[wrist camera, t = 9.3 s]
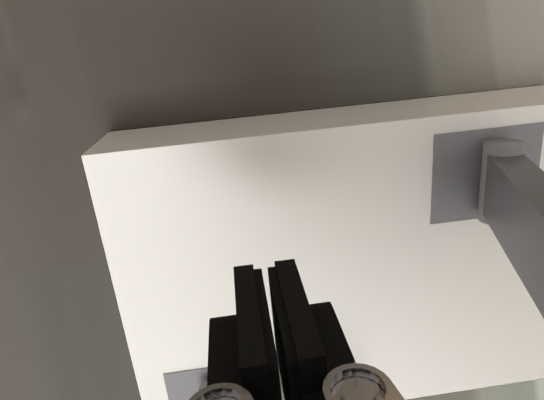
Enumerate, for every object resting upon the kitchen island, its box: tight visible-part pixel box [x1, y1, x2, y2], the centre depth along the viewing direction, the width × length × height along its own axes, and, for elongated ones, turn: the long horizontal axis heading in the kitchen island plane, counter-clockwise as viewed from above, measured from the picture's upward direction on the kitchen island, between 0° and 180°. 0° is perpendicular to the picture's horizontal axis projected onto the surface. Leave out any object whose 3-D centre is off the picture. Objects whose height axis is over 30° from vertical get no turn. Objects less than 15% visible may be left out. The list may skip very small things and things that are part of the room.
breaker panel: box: [81, 85, 544, 400], centre depth 25 cm, size 24×16×5 cm
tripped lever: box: [477, 138, 544, 319], centre depth 16 cm, size 2×4×11 cm, turn 5°
